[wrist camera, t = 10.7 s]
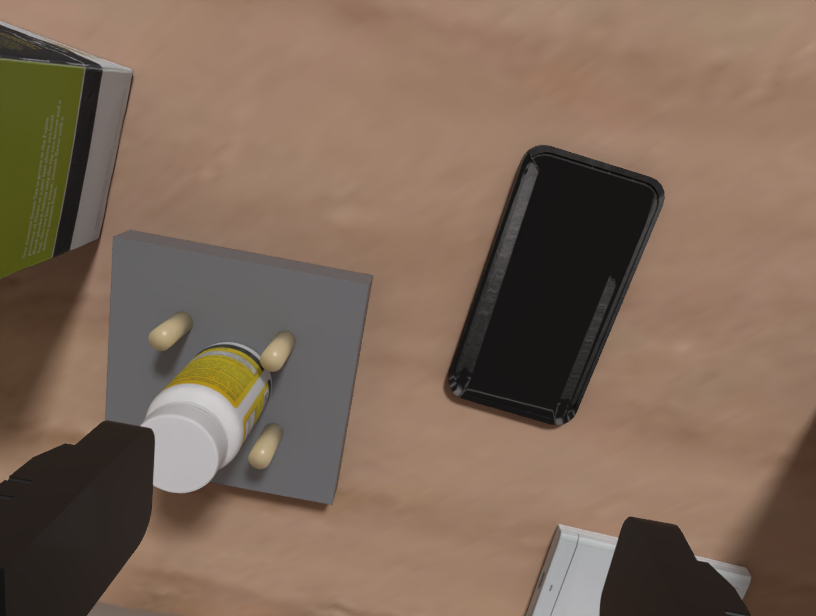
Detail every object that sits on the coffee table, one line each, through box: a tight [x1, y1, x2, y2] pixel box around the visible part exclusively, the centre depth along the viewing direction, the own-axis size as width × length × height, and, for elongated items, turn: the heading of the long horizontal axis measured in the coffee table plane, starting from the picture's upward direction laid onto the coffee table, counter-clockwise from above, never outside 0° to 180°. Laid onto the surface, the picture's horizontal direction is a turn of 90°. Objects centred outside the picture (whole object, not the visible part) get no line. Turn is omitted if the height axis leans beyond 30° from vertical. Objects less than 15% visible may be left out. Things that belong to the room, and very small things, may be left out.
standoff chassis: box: [105, 230, 373, 505], centre depth 36 cm, size 14×14×5 cm
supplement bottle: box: [140, 342, 272, 493], centre depth 32 cm, size 5×5×8 cm
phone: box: [449, 145, 665, 425], centre depth 36 cm, size 8×1×15 cm
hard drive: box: [526, 524, 751, 616], centre depth 42 cm, size 2×8×12 cm
